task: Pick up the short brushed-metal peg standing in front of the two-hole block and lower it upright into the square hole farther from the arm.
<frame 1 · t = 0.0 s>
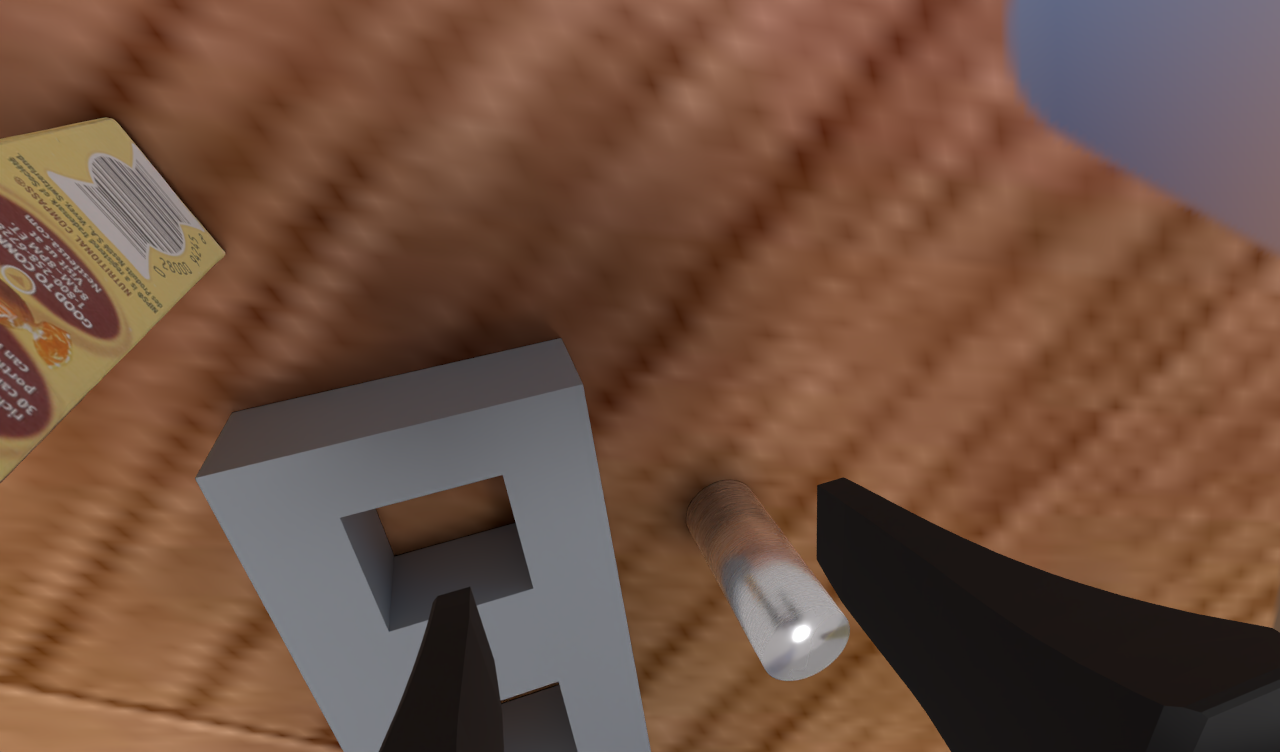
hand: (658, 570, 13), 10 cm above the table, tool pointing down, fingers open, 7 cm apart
metal peg: (720, 511, 26), on the table
candy box: (27, 270, 17), on the table
hole block: (473, 584, 24), on the table
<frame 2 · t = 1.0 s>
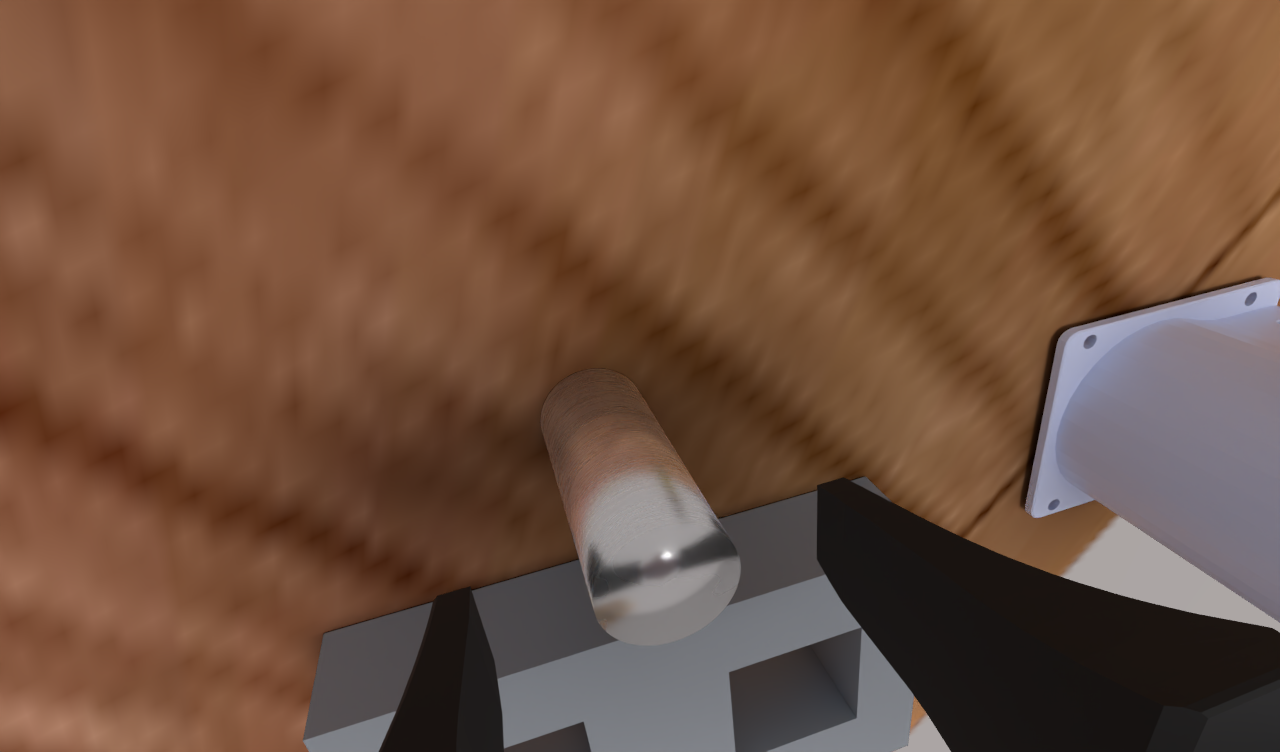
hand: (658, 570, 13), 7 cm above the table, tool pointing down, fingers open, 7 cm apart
metal peg: (592, 416, 19), on the table
hole block: (635, 654, 23), on the table
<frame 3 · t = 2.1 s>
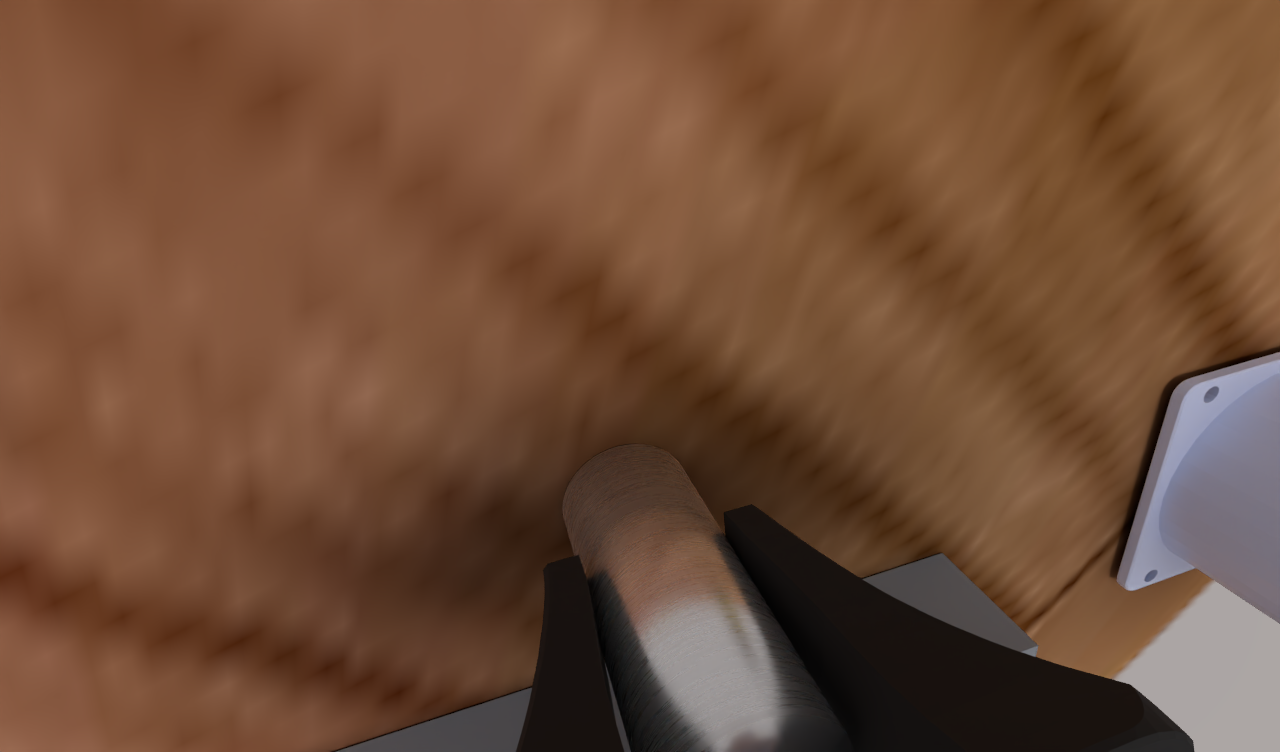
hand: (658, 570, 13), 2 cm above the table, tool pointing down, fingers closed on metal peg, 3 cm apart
metal peg: (626, 500, 15), on the table, touching gripper
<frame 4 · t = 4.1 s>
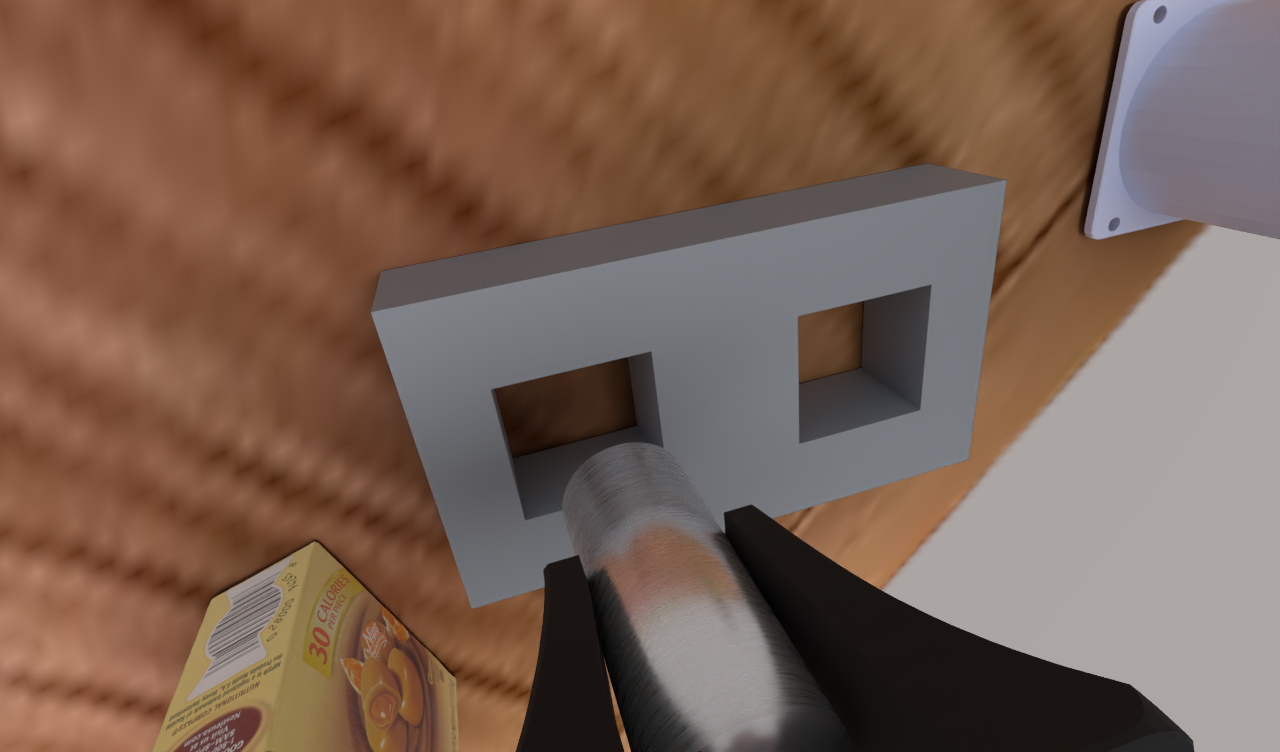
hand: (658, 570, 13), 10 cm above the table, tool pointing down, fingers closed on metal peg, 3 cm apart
metal peg: (626, 498, 15), point 7 cm above the table, touching gripper
candy box: (349, 633, 24), on the table
hole block: (691, 355, 23), on the table
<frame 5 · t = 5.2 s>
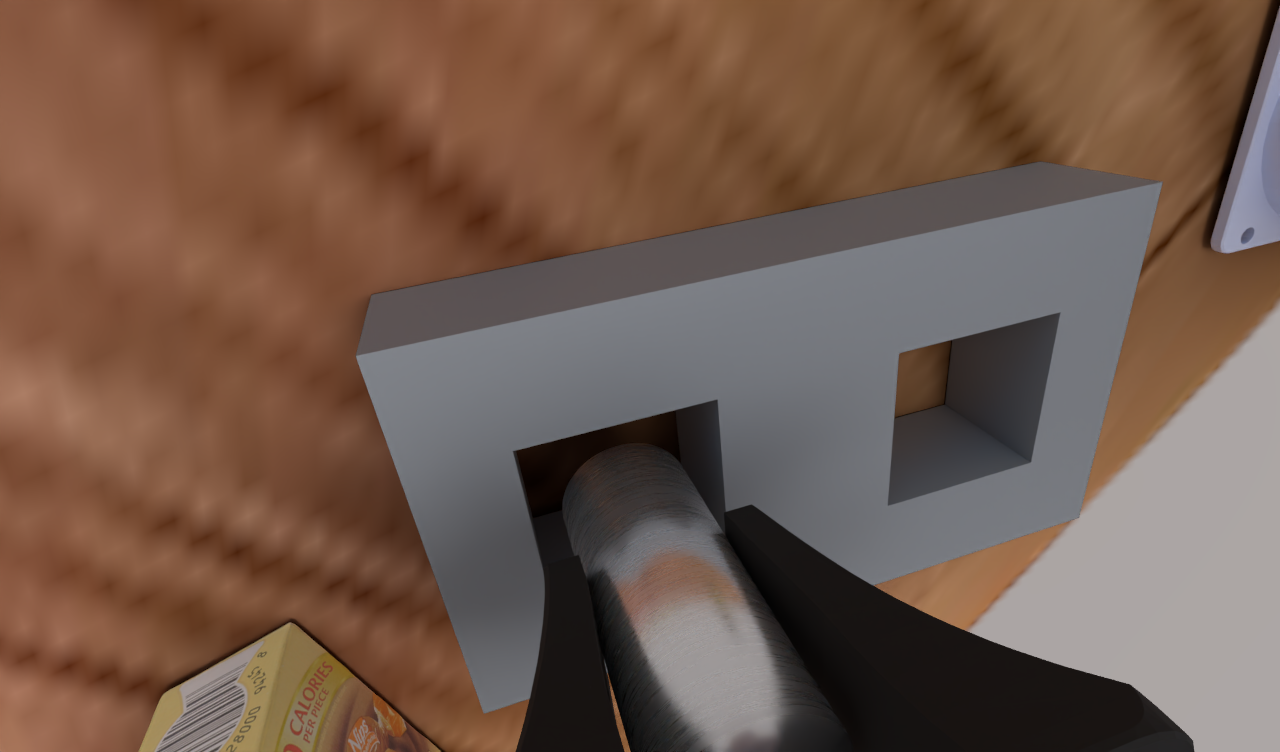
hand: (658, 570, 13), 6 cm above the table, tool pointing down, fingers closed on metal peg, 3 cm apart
metal peg: (626, 499, 15), point 3 cm above the table, touching gripper
candy box: (334, 724, 20), on the table
hole block: (749, 393, 19), on the table
when the fingers open (4 cm above the table, at t = 5.9 s): metal peg drops 2 cm, resting in hole block.
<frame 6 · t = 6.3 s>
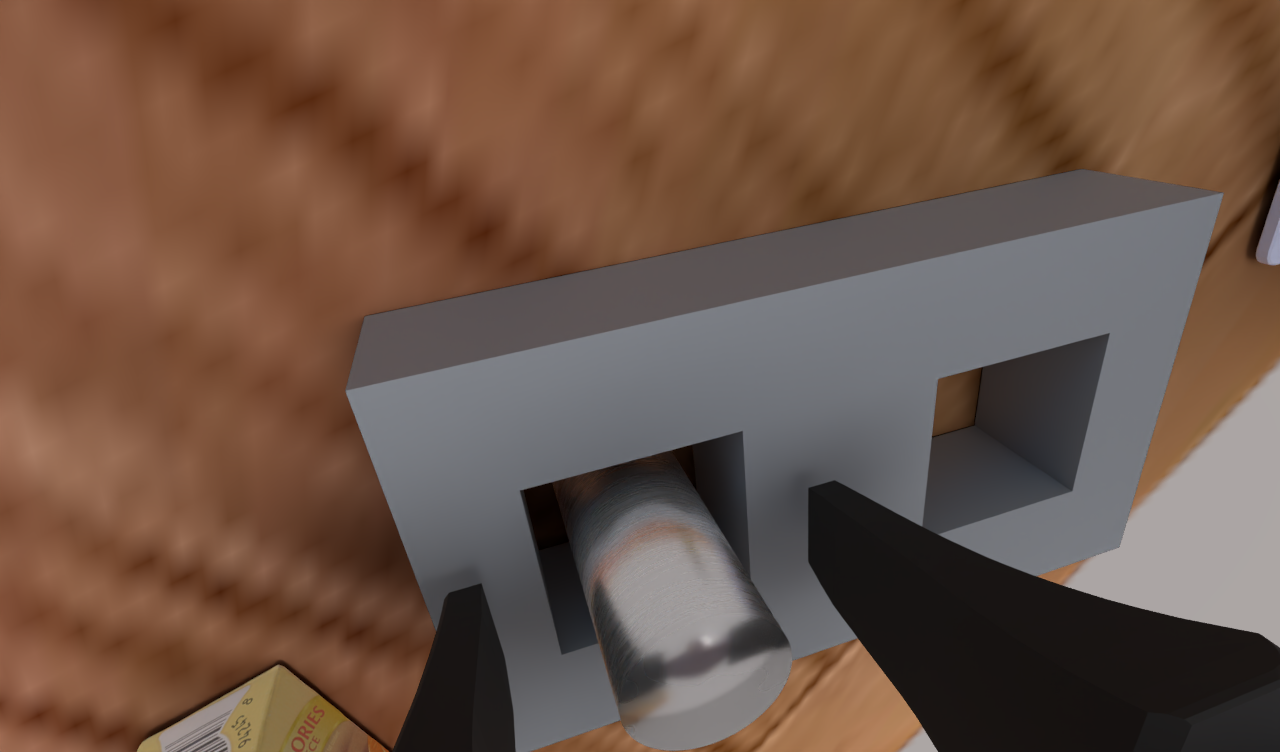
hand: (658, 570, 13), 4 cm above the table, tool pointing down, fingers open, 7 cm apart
metal peg: (607, 458, 17), resting in hole block
hole block: (770, 416, 18), on the table
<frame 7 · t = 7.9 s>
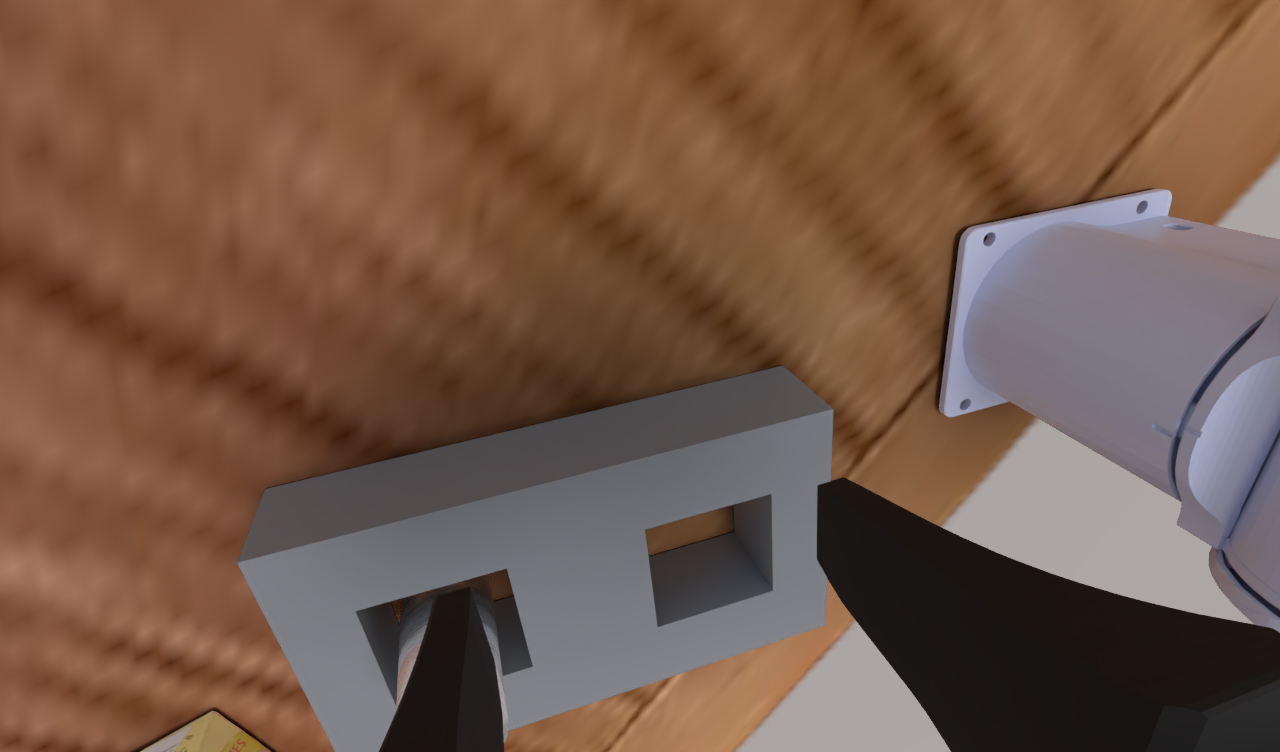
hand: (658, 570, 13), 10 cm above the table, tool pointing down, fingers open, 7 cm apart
metal peg: (446, 566, 24), resting in hole block
hole block: (567, 534, 25), on the table
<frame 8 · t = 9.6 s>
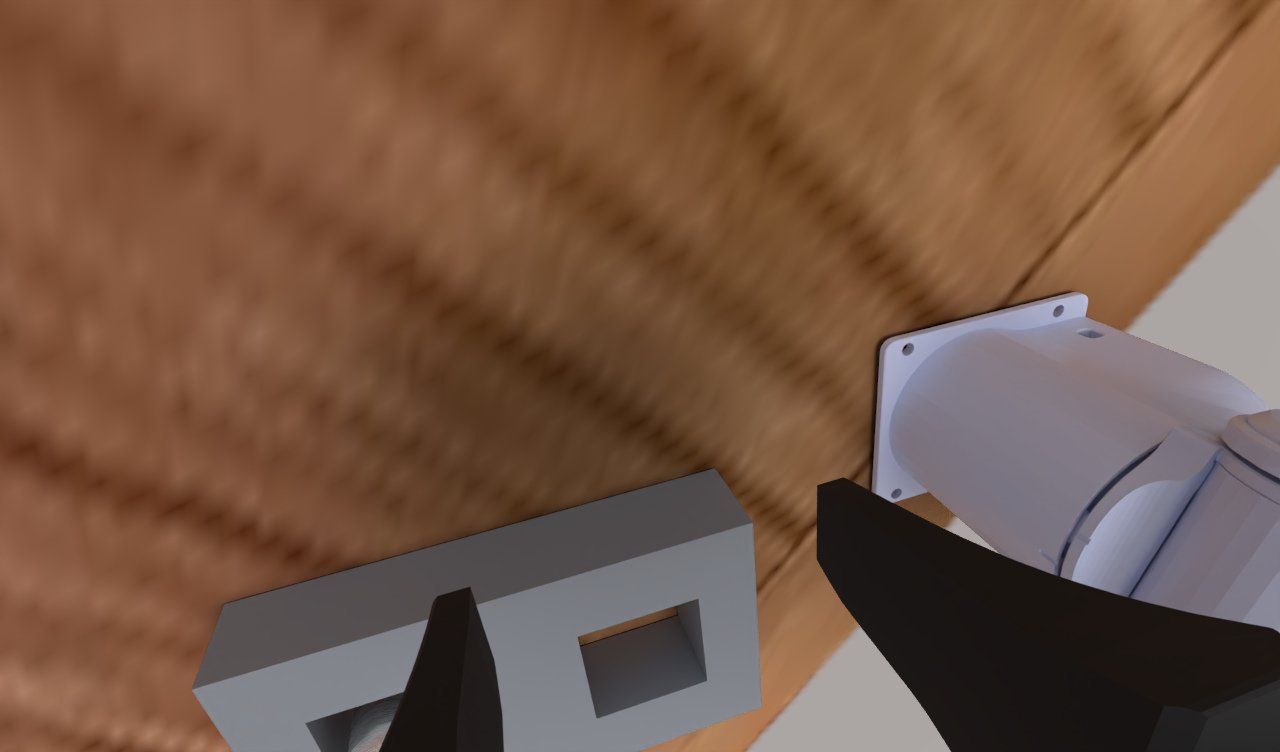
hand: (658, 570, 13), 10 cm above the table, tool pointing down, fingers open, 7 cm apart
metal peg: (400, 660, 25), resting in hole block
hole block: (515, 626, 26), on the table
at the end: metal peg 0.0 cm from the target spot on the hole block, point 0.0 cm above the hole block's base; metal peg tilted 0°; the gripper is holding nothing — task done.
